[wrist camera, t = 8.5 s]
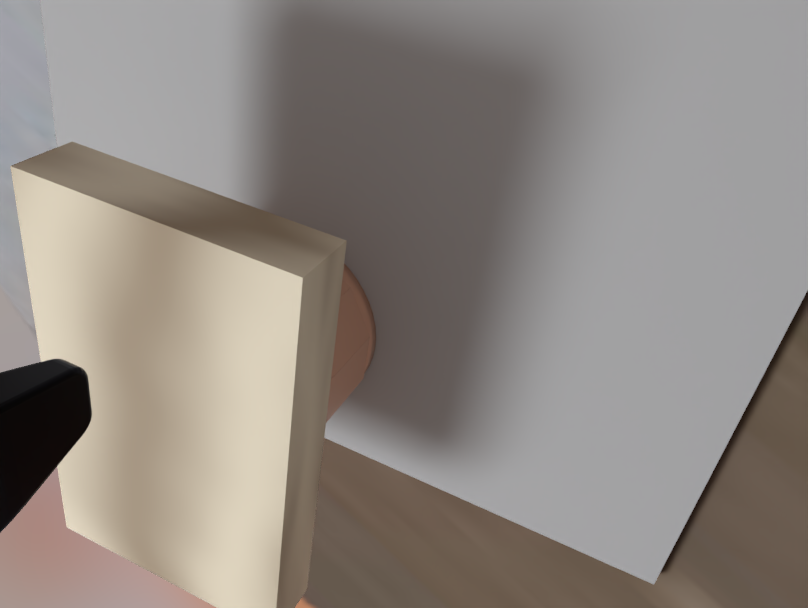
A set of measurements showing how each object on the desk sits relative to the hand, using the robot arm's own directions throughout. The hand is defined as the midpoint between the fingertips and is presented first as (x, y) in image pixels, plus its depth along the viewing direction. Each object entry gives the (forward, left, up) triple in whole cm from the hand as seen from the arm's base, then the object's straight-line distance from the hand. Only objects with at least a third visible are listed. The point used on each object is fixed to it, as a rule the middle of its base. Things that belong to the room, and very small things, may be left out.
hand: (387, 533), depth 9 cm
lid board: (+8, +7, -7) cm, 13 cm away
